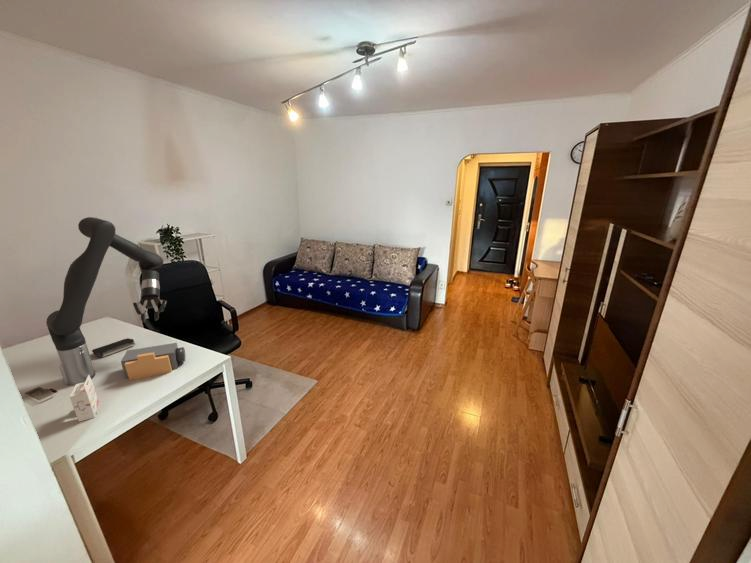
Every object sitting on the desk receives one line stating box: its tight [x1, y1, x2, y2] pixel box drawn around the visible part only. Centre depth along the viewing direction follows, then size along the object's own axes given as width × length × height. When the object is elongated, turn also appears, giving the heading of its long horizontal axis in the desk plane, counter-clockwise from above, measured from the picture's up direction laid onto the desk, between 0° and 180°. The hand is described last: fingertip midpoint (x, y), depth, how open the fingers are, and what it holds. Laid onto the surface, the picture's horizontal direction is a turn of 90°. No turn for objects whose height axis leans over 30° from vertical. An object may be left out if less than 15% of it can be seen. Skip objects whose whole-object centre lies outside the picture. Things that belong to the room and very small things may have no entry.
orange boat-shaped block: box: [125, 352, 173, 381], centre depth 135 cm, size 16×2×12 cm, turn 116°
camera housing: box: [120, 342, 186, 379], centre depth 142 cm, size 23×10×10 cm, turn 116°
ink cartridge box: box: [69, 375, 100, 423], centre depth 113 cm, size 9×5×15 cm, turn 33°
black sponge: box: [91, 337, 136, 358], centre depth 157 cm, size 16×8×4 cm, turn 150°
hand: (150, 320), depth 144 cm, fingers open, 4 cm apart
